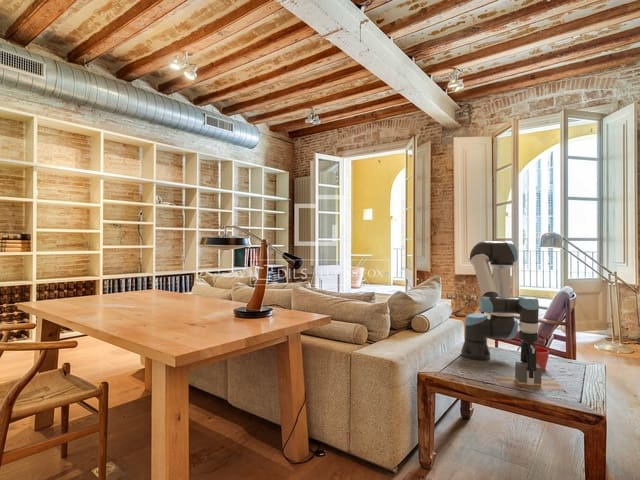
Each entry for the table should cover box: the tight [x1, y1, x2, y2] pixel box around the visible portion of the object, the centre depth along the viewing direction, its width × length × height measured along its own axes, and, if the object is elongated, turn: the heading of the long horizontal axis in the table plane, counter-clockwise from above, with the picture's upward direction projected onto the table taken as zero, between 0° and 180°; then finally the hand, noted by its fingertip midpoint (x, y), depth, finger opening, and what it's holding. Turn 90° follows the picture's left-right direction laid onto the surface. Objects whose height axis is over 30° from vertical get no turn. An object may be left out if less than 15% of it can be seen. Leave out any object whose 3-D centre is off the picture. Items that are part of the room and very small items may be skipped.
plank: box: [493, 374, 567, 394], centre depth 168 cm, size 13×26×1 cm, turn 78°
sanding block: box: [514, 361, 543, 386], centre depth 168 cm, size 6×9×8 cm, turn 78°
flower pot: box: [535, 346, 550, 371], centre depth 189 cm, size 11×11×10 cm
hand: (527, 381), depth 168 cm, fingers closed on sanding block, 6 cm apart
